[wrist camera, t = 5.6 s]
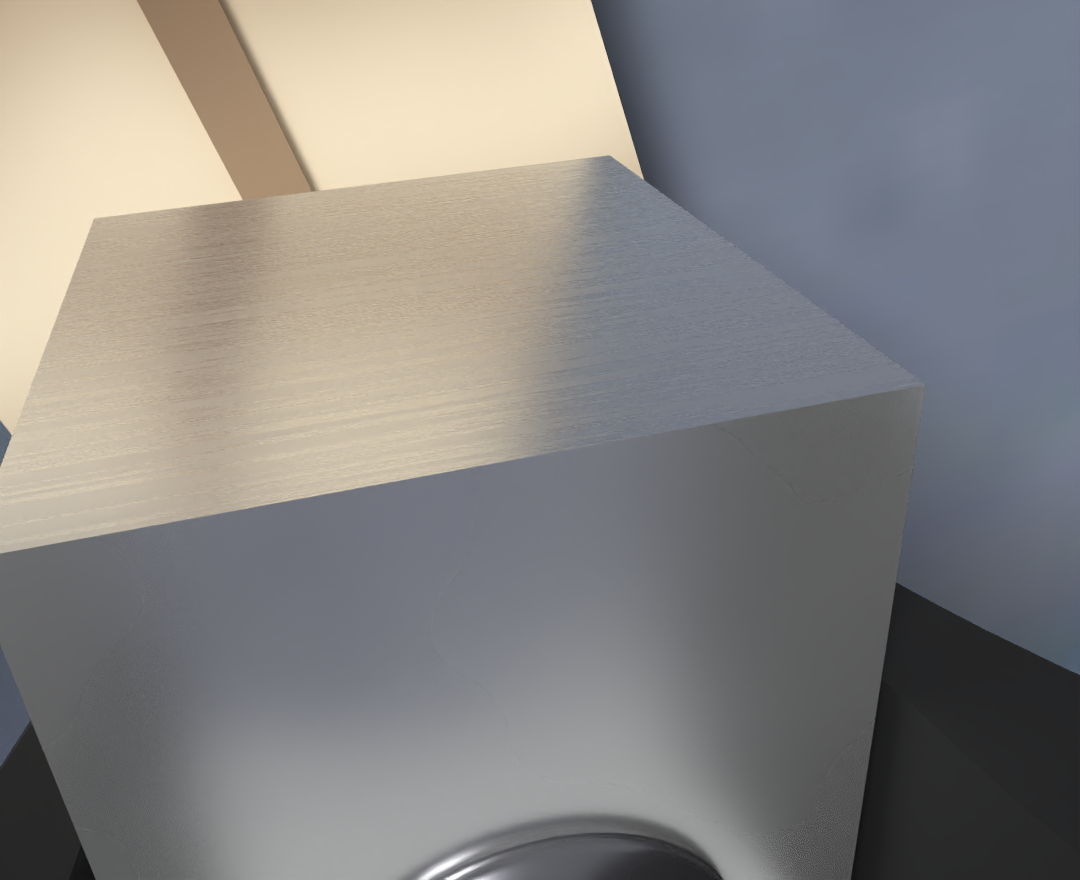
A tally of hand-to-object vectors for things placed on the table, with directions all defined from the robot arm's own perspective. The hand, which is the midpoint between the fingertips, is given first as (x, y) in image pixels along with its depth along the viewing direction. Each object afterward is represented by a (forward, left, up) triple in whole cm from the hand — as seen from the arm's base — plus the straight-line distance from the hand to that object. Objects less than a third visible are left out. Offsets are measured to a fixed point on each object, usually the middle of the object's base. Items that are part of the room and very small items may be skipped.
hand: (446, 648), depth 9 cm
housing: (0, 0, -2) cm, 2 cm away
